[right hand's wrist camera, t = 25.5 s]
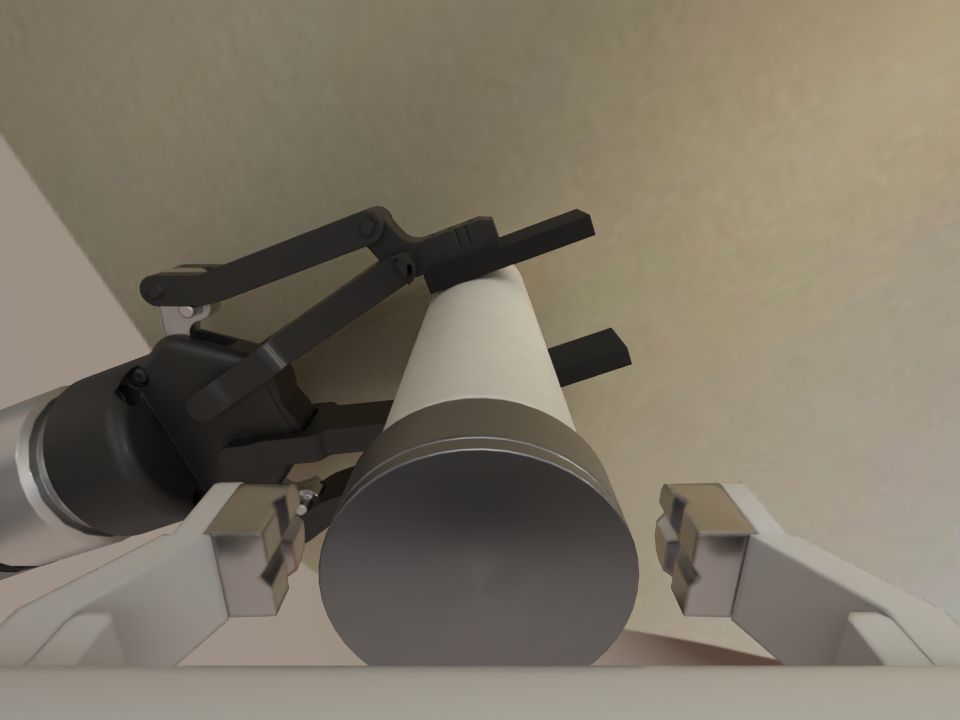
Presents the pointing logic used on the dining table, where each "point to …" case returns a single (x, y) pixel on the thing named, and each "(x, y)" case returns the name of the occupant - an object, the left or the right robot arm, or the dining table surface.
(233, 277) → the left robot arm
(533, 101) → the dining table surface
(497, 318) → the white cylinder
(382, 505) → the lid
